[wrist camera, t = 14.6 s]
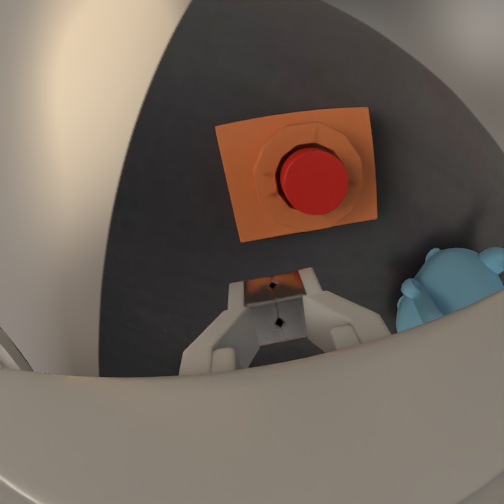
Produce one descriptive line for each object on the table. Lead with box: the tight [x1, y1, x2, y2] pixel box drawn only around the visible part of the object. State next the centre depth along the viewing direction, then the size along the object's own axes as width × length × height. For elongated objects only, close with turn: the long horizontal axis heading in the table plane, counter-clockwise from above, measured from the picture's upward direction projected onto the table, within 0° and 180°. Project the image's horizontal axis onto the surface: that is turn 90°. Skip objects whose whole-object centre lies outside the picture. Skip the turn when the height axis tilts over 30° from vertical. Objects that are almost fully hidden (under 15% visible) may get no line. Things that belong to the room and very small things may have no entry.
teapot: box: [396, 247, 504, 332], centre depth 19 cm, size 13×14×11 cm
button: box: [280, 148, 348, 215], centre depth 15 cm, size 4×4×2 cm
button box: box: [215, 107, 377, 243], centre depth 17 cm, size 10×8×4 cm
